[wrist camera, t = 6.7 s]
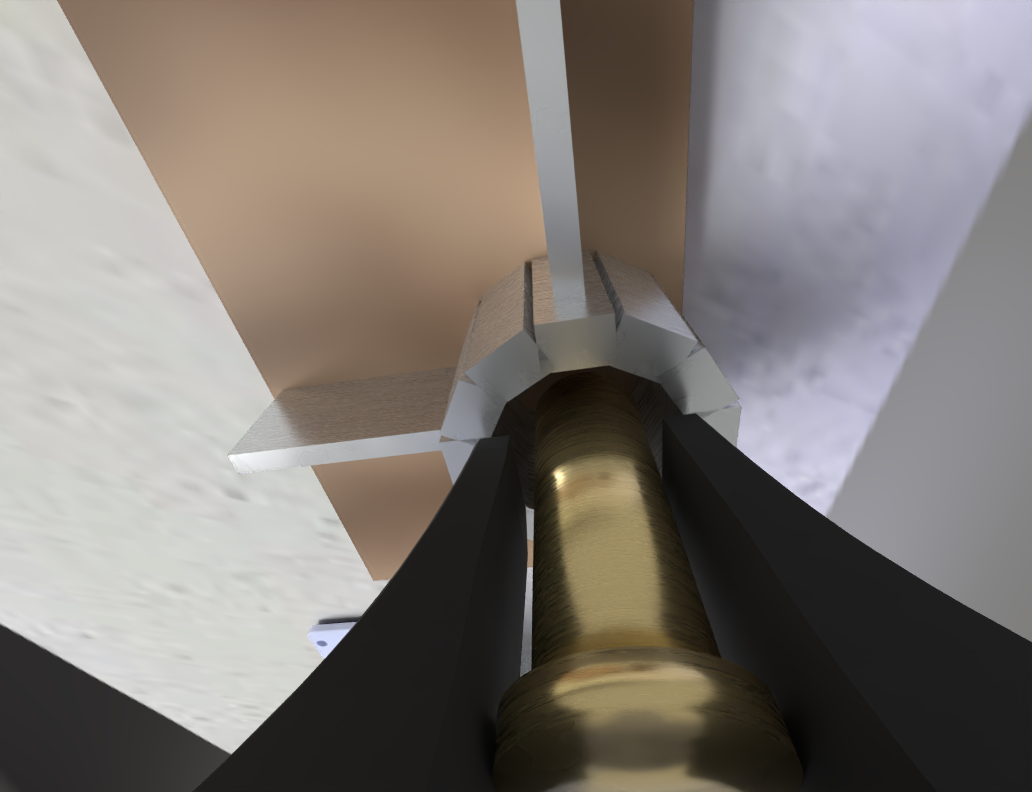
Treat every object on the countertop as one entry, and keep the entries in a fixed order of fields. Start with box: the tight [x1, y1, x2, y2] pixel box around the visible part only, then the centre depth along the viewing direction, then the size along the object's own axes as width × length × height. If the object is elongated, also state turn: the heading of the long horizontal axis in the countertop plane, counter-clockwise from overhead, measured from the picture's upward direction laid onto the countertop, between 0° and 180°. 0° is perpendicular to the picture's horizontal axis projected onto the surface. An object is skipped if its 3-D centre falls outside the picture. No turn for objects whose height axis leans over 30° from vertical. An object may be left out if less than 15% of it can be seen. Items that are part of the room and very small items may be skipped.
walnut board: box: [57, 0, 693, 581], centre depth 13 cm, size 20×12×1 cm, turn 9°
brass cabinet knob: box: [493, 372, 803, 792], centre depth 8 cm, size 3×3×7 cm
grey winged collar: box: [227, 0, 741, 540], centre depth 10 cm, size 12×12×4 cm
